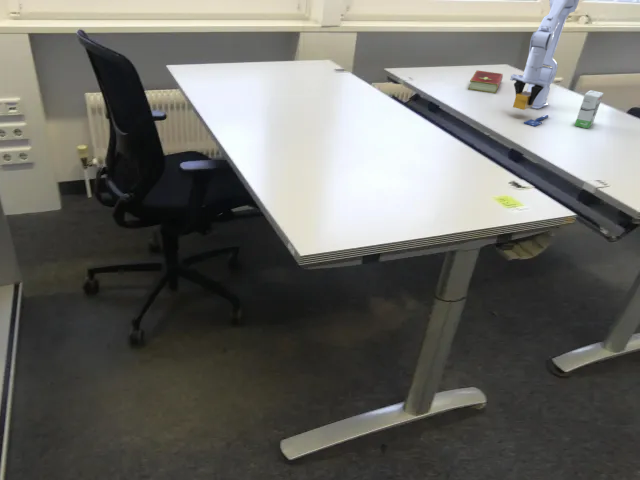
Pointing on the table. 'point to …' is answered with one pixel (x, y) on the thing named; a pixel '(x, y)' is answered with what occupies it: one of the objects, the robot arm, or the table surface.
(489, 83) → the hardcover book
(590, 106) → the ink box
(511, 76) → the robot arm
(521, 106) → the block
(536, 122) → the spatula
